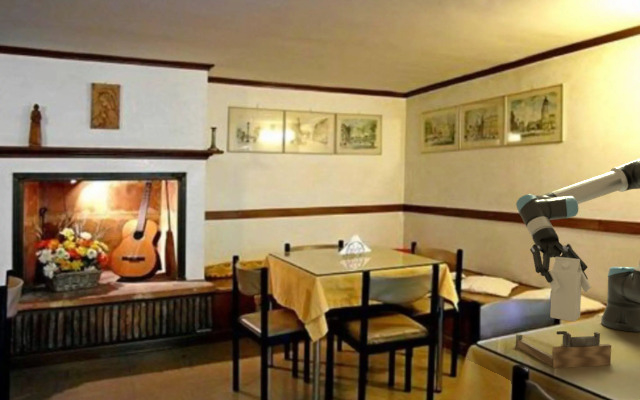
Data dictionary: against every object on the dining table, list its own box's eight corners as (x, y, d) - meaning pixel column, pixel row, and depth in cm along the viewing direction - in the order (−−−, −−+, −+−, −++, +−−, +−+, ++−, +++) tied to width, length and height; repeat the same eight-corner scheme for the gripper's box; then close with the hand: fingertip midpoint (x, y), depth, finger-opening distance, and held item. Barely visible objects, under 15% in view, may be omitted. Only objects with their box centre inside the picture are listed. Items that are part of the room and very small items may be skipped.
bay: (566, 343, 174) (567, 312, 173) (612, 365, 153) (614, 330, 153) (515, 345, 170) (516, 314, 170) (556, 369, 150) (557, 333, 149)
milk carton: (556, 313, 166) (558, 255, 165) (580, 317, 161) (582, 257, 160) (550, 317, 160) (552, 257, 159) (574, 322, 156) (577, 260, 155)
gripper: (566, 240, 177) (598, 295, 162) (508, 240, 172) (534, 297, 158) (577, 226, 172) (611, 282, 157) (517, 226, 167) (546, 284, 152)
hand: (573, 290), depth 157 cm, fingers closed on milk carton, 10 cm apart
